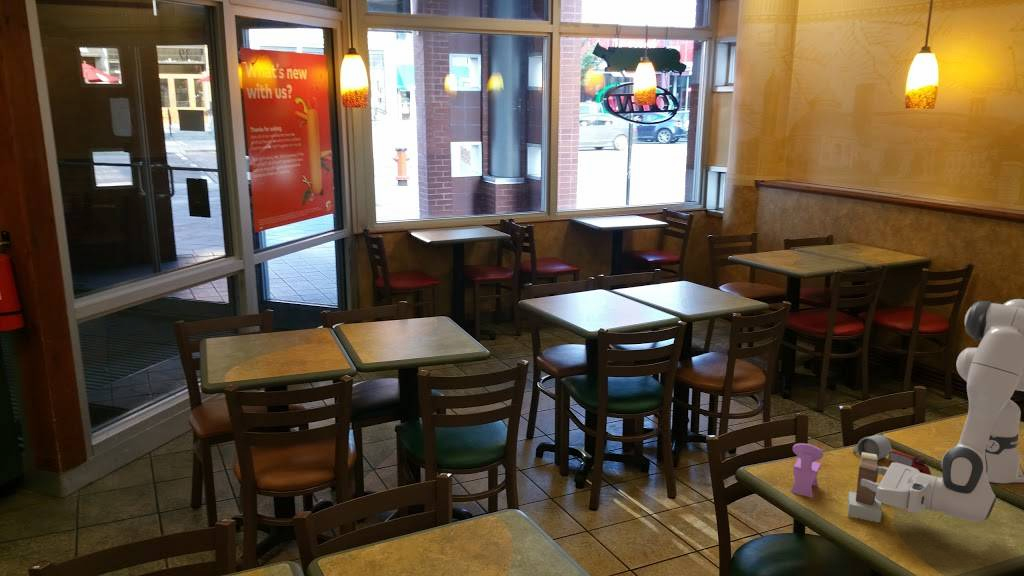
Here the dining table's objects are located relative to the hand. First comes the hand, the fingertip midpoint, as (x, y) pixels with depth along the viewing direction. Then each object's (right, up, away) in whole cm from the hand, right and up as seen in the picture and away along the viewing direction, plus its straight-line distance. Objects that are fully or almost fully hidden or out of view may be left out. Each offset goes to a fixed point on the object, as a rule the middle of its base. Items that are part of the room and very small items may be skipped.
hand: (865, 474), depth 210 cm
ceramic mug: (+18, -3, +37) cm, 41 cm away
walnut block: (+1, -7, +1) cm, 7 cm away
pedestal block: (0, -11, +2) cm, 11 cm away
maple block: (+8, -8, +16) cm, 20 cm away
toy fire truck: (+20, -8, +16) cm, 27 cm away
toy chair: (-11, -8, +15) cm, 20 cm away
